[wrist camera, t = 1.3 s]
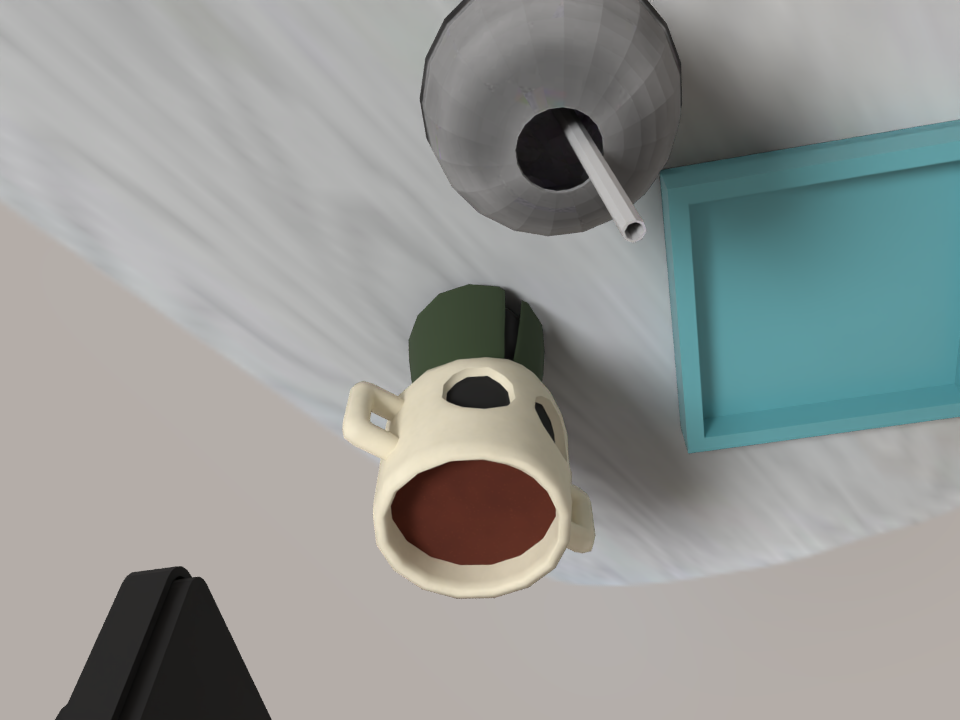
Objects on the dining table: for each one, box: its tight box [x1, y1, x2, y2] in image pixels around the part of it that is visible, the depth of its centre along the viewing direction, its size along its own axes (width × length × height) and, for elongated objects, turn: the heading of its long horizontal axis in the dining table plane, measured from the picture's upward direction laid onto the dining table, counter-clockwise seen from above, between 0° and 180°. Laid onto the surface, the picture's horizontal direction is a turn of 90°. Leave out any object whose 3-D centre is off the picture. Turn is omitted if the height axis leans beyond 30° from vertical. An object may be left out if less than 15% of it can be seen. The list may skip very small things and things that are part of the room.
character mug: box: [342, 284, 595, 599], centre depth 38 cm, size 11×7×13 cm, turn 58°
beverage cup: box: [420, 0, 682, 243], centre depth 27 cm, size 7×7×20 cm
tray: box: [660, 120, 960, 454], centre depth 40 cm, size 14×14×2 cm
